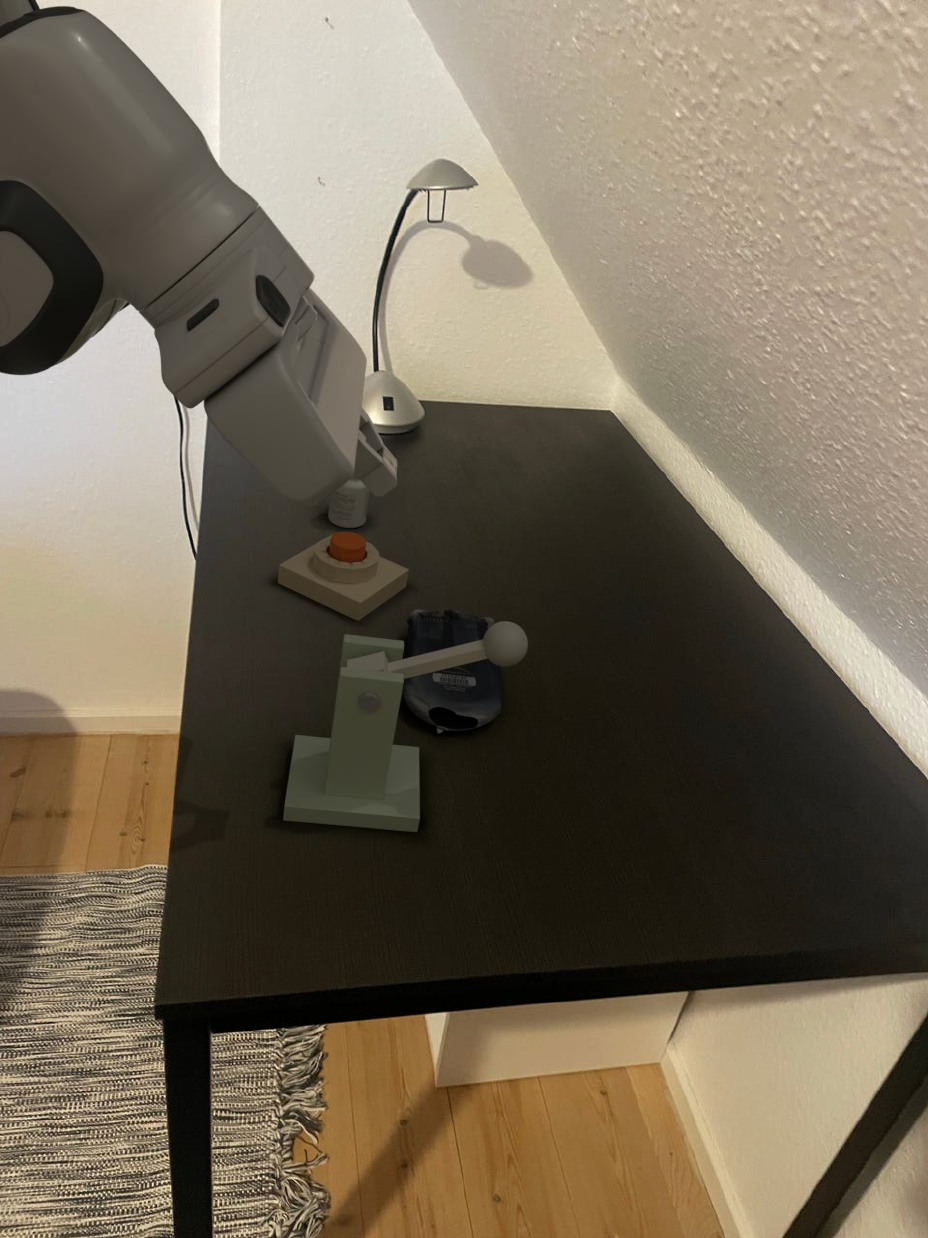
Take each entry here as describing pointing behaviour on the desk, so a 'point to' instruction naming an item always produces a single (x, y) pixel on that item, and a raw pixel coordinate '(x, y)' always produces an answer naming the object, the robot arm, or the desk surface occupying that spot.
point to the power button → (347, 547)
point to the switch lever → (455, 653)
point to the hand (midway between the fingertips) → (389, 482)
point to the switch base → (358, 753)
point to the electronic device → (452, 673)
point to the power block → (343, 579)
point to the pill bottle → (349, 504)
